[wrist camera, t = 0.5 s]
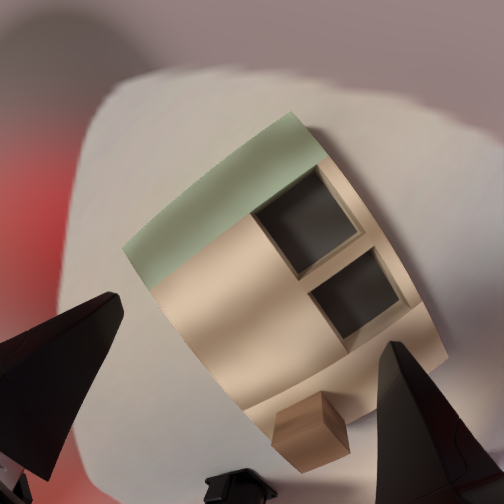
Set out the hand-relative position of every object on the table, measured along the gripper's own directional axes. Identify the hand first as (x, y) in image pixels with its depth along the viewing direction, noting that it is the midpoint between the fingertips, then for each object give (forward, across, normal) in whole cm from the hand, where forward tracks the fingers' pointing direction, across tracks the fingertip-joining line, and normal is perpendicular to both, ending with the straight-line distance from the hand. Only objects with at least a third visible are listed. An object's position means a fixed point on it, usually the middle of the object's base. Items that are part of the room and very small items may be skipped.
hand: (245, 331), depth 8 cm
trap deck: (+11, -2, +8) cm, 14 cm away
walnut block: (+5, -5, +14) cm, 16 cm away
